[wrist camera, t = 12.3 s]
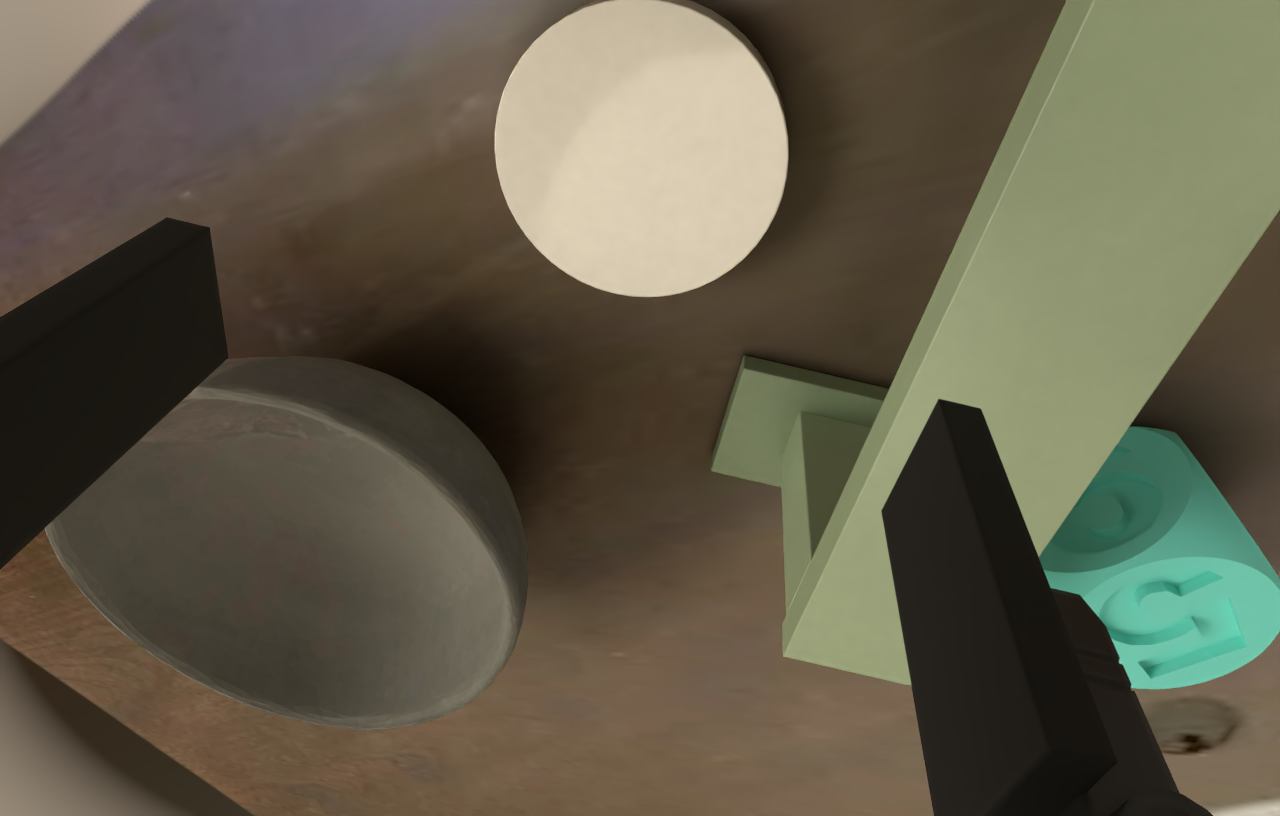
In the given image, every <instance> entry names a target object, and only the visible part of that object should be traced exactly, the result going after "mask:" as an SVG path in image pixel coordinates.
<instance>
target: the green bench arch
mask: <svg viewBox="0 0 1280 816" xmlns="http://www.w3.org/2000/svg"><path fill="white" fill-rule="evenodd" d="M1279 210H1280V0H1066V3H1065V5H1064V7H1063V9H1062V11H1061V14H1060V16H1059V18H1058V20H1057V22H1056V24H1055V27H1054V29H1053V31H1052V33H1051V35H1050V38H1049V40H1048V42H1047V44H1046V46H1045V49H1044V51H1043V53H1042V55H1041V57H1040V60H1039V62H1038V64H1037V66H1036V68H1035V71H1034V73H1033V75H1032V77H1031V79H1030V82H1029V84H1028V86H1027V88H1026V90H1025V93H1024V95H1023V97H1022V99H1021V101H1020V104H1019V106H1018V108H1017V110H1016V112H1015V114H1014V117H1013V119H1012V121H1011V123H1010V125H1009V128H1008V130H1007V132H1006V134H1005V136H1004V139H1003V141H1002V143H1001V145H1000V147H999V150H998V152H997V154H996V156H995V158H994V161H993V163H992V165H991V167H990V169H989V172H988V174H987V176H986V178H985V180H984V183H983V185H982V187H981V189H980V191H979V193H978V196H977V198H976V200H975V202H974V204H973V207H972V209H971V211H970V213H969V215H968V218H967V220H966V222H965V224H964V226H963V229H962V231H961V233H960V235H959V237H958V240H957V242H956V244H955V246H954V248H953V251H952V253H951V255H950V257H949V259H948V262H947V264H946V266H945V268H944V270H943V272H942V275H941V277H940V279H939V281H938V283H937V286H936V288H935V290H934V292H933V294H932V297H931V299H930V301H929V303H928V305H927V308H926V310H925V312H924V314H923V316H922V319H921V321H920V323H919V325H918V327H917V330H916V332H915V334H914V336H913V338H912V341H911V343H910V345H909V347H908V349H907V351H906V354H905V356H904V358H903V360H902V362H901V365H900V367H899V369H898V371H897V373H896V376H895V378H894V380H893V382H892V384H891V387H890V389H888V388H883V387H879V386H875V385H870V384H866V383H862V382H857V381H853V380H849V379H845V378H840V377H836V376H832V375H827V374H823V373H819V372H814V371H810V370H806V369H802V368H797V367H793V366H789V365H784V364H780V363H776V362H771V361H767V360H763V359H758V358H754V357H750V356H746V355H744V356H743V359H742V362H741V365H740V368H739V371H738V374H737V378H736V381H735V384H734V387H733V390H732V393H731V397H730V400H729V403H728V406H727V409H726V412H725V416H724V419H723V422H722V425H721V428H720V431H719V435H718V438H717V441H716V444H715V447H714V450H713V454H712V459H711V471H712V472H717V473H721V474H725V475H730V476H734V477H738V478H743V479H747V480H751V481H756V482H760V483H764V484H769V485H773V486H777V487H782V514H783V541H784V568H785V596H786V614H787V615H786V617H785V619H784V621H783V624H782V637H783V656H784V657H788V658H793V659H797V660H801V661H806V662H810V663H814V664H819V665H823V666H827V667H832V668H836V669H840V670H845V671H849V672H853V673H858V674H862V675H866V676H871V677H875V678H880V679H884V680H888V681H893V682H897V683H901V684H906V685H910V686H912V685H911V680H910V674H909V668H908V662H907V657H906V651H905V645H904V639H903V633H902V628H901V622H900V616H899V610H898V605H897V599H896V593H895V587H894V582H893V576H892V570H891V564H890V559H889V553H888V547H887V541H886V535H885V530H884V524H883V518H882V512H881V510H882V508H883V506H884V504H885V502H886V501H887V499H888V497H889V495H890V493H891V491H892V489H893V487H894V485H895V483H896V481H897V479H898V477H899V475H900V473H901V471H902V469H903V467H904V465H905V463H906V461H907V459H908V458H909V456H910V454H911V452H912V450H913V448H914V446H915V444H916V442H917V440H918V438H919V436H920V434H921V432H922V430H923V428H924V426H925V424H926V422H927V420H928V418H929V416H930V414H931V413H932V411H933V409H934V407H935V405H936V403H937V401H938V399H942V400H947V401H951V402H955V403H959V404H964V405H968V406H972V407H977V408H981V410H982V412H983V415H984V417H985V420H986V423H987V425H988V428H989V430H990V433H991V435H992V438H993V441H994V443H995V446H996V448H997V451H998V454H999V456H1000V459H1001V461H1002V464H1003V466H1004V469H1005V472H1006V474H1007V477H1008V479H1009V482H1010V485H1011V487H1012V490H1013V492H1014V495H1015V497H1016V500H1017V503H1018V505H1019V508H1020V510H1021V513H1022V516H1023V518H1024V521H1025V523H1026V526H1027V528H1028V531H1029V534H1030V536H1031V539H1032V541H1033V544H1034V547H1035V549H1036V552H1037V554H1038V557H1039V556H1040V555H1041V553H1042V552H1043V550H1044V549H1045V547H1046V546H1047V545H1048V543H1049V542H1050V540H1051V539H1052V537H1053V536H1054V534H1055V533H1056V532H1057V530H1058V529H1059V527H1060V526H1061V524H1062V523H1063V522H1064V520H1065V519H1066V517H1067V516H1068V514H1069V513H1070V511H1071V510H1072V509H1073V507H1074V506H1075V504H1076V503H1077V501H1078V500H1079V498H1080V497H1081V496H1082V494H1083V493H1084V491H1085V490H1086V488H1087V487H1088V485H1089V484H1090V483H1091V481H1092V480H1093V478H1094V477H1095V475H1096V474H1097V473H1098V471H1099V470H1100V468H1101V467H1102V465H1103V464H1104V462H1105V461H1106V460H1107V458H1108V457H1109V455H1110V454H1111V452H1112V451H1113V449H1114V448H1115V447H1116V445H1117V444H1118V442H1119V441H1120V439H1121V438H1122V436H1123V435H1124V434H1125V432H1126V431H1127V429H1128V428H1129V426H1130V425H1131V424H1132V422H1133V421H1134V419H1135V418H1136V416H1137V415H1138V413H1139V412H1140V411H1141V409H1142V408H1143V406H1144V405H1145V403H1146V402H1147V400H1148V399H1149V398H1150V396H1151V395H1152V393H1153V392H1154V390H1155V389H1156V388H1157V386H1158V385H1159V383H1160V382H1161V380H1162V379H1163V377H1164V376H1165V375H1166V373H1167V372H1168V370H1169V369H1170V367H1171V366H1172V364H1173V363H1174V362H1175V360H1176V359H1177V357H1178V356H1179V354H1180V353H1181V351H1182V350H1183V349H1184V347H1185V346H1186V344H1187V343H1188V341H1189V340H1190V339H1191V337H1192V336H1193V334H1194V333H1195V331H1196V330H1197V328H1198V327H1199V326H1200V324H1201V323H1202V321H1203V320H1204V318H1205V317H1206V315H1207V314H1208V313H1209V311H1210V310H1211V308H1212V307H1213V305H1214V304H1215V302H1216V301H1217V300H1218V298H1219V297H1220V295H1221V294H1222V292H1223V291H1224V290H1225V288H1226V287H1227V285H1228V284H1229V282H1230V281H1231V279H1232V278H1233V277H1234V275H1235V274H1236V272H1237V271H1238V269H1239V268H1240V266H1241V265H1242V264H1243V262H1244V261H1245V259H1246V258H1247V256H1248V255H1249V254H1250V252H1251V251H1252V249H1253V248H1254V246H1255V245H1256V243H1257V242H1258V241H1259V239H1260V238H1261V236H1262V235H1263V233H1264V232H1265V230H1266V229H1267V228H1268V226H1269V225H1270V223H1271V222H1272V220H1273V219H1274V217H1275V216H1276V215H1277V213H1278V212H1279Z"/></svg>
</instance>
